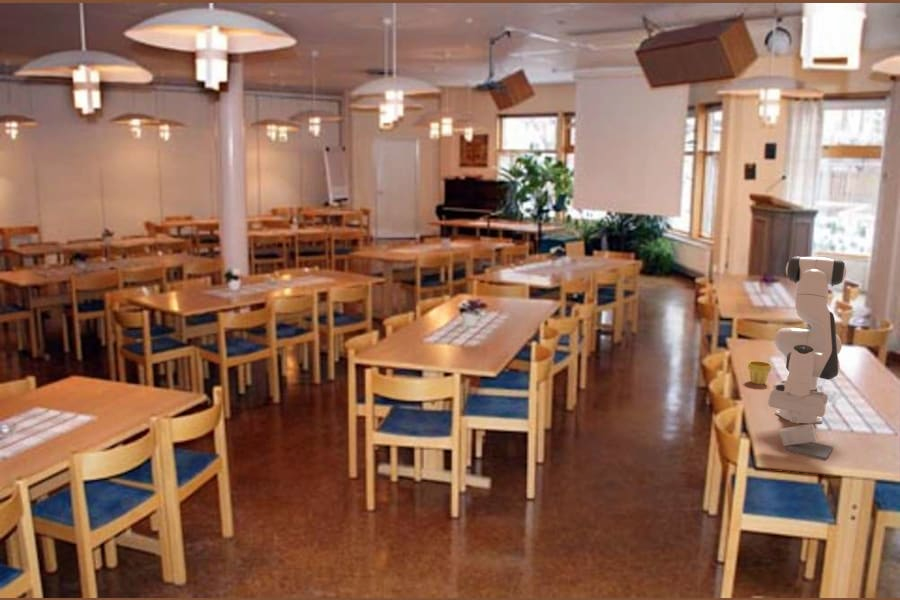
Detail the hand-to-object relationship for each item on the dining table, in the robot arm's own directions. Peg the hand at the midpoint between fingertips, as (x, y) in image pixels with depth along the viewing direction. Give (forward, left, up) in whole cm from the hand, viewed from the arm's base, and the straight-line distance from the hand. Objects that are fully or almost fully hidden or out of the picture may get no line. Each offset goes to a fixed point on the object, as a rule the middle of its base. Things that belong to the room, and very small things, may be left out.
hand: (794, 422), depth 301 cm
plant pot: (-82, -33, -10) cm, 88 cm away
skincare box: (+1, -4, -7) cm, 8 cm away
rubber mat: (0, +6, -10) cm, 12 cm away
